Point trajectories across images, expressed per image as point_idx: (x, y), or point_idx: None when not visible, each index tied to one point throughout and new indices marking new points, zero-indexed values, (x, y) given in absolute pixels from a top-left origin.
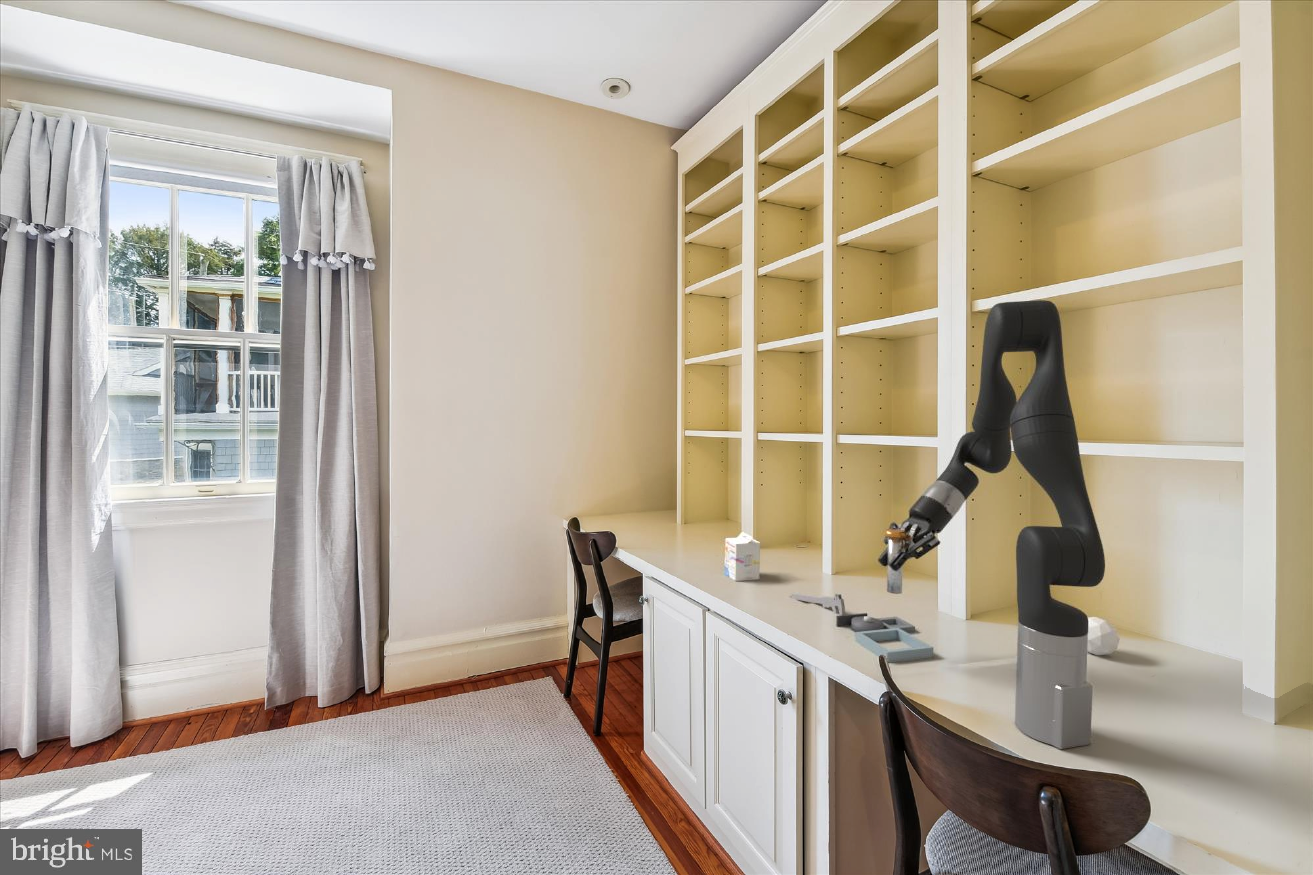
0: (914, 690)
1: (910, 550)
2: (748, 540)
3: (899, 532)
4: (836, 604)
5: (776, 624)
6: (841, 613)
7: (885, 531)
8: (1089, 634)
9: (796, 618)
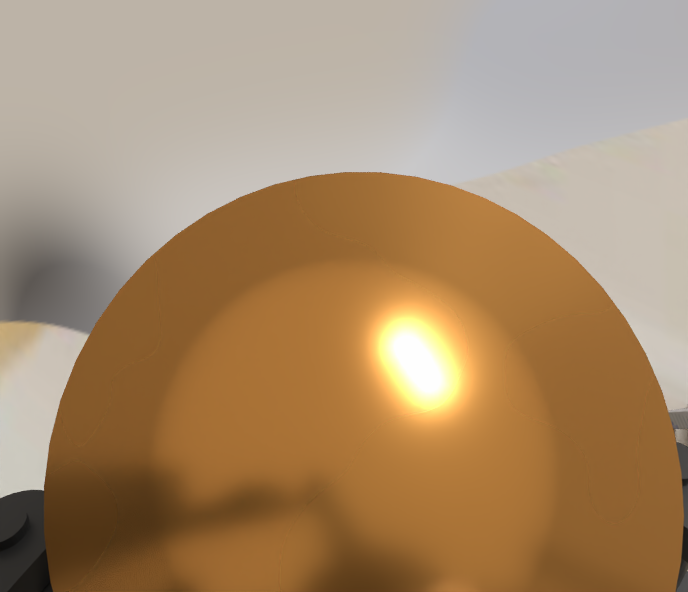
0: (57, 337)
1: (4, 507)
2: None
3: (170, 453)
4: None
5: (616, 153)
6: (683, 411)
7: (403, 177)
8: None
9: (677, 244)
